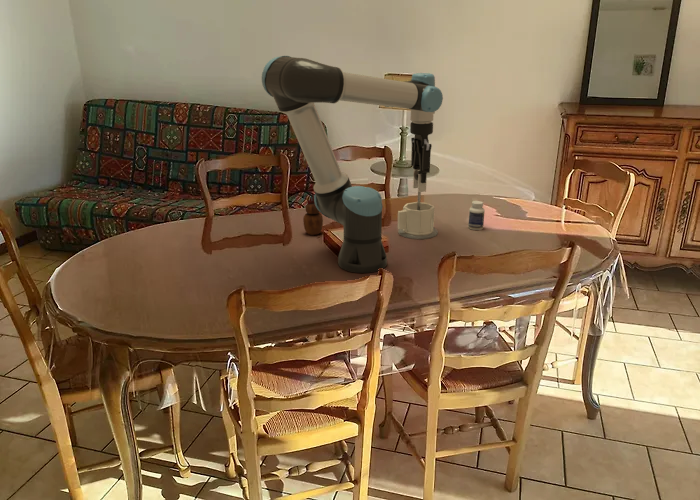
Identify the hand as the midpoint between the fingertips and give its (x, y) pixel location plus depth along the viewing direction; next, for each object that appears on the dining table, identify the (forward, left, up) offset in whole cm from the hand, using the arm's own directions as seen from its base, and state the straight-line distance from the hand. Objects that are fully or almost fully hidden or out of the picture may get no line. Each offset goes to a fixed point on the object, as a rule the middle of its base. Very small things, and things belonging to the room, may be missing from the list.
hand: (419, 189), depth 205 cm
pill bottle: (+21, -5, -16) cm, 27 cm away
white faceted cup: (0, 0, -16) cm, 16 cm away
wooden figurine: (-34, +15, -16) cm, 41 cm away
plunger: (0, 0, -11) cm, 11 cm away
